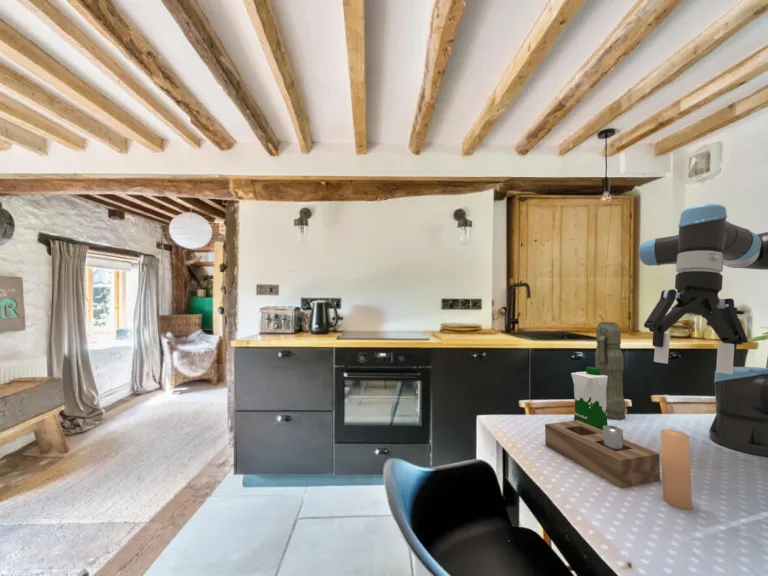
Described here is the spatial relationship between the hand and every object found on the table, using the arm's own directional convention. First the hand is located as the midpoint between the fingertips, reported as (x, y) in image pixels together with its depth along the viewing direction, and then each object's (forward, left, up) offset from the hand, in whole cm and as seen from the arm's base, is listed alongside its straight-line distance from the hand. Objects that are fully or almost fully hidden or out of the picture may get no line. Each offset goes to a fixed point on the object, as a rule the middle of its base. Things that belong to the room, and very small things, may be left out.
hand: (692, 368), depth 69 cm
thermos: (-32, -44, -28) cm, 61 cm away
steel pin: (+7, -13, -27) cm, 31 cm away
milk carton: (-14, -37, -28) cm, 49 cm away
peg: (+7, +1, -28) cm, 29 cm away
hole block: (+7, -17, -28) cm, 34 cm away
